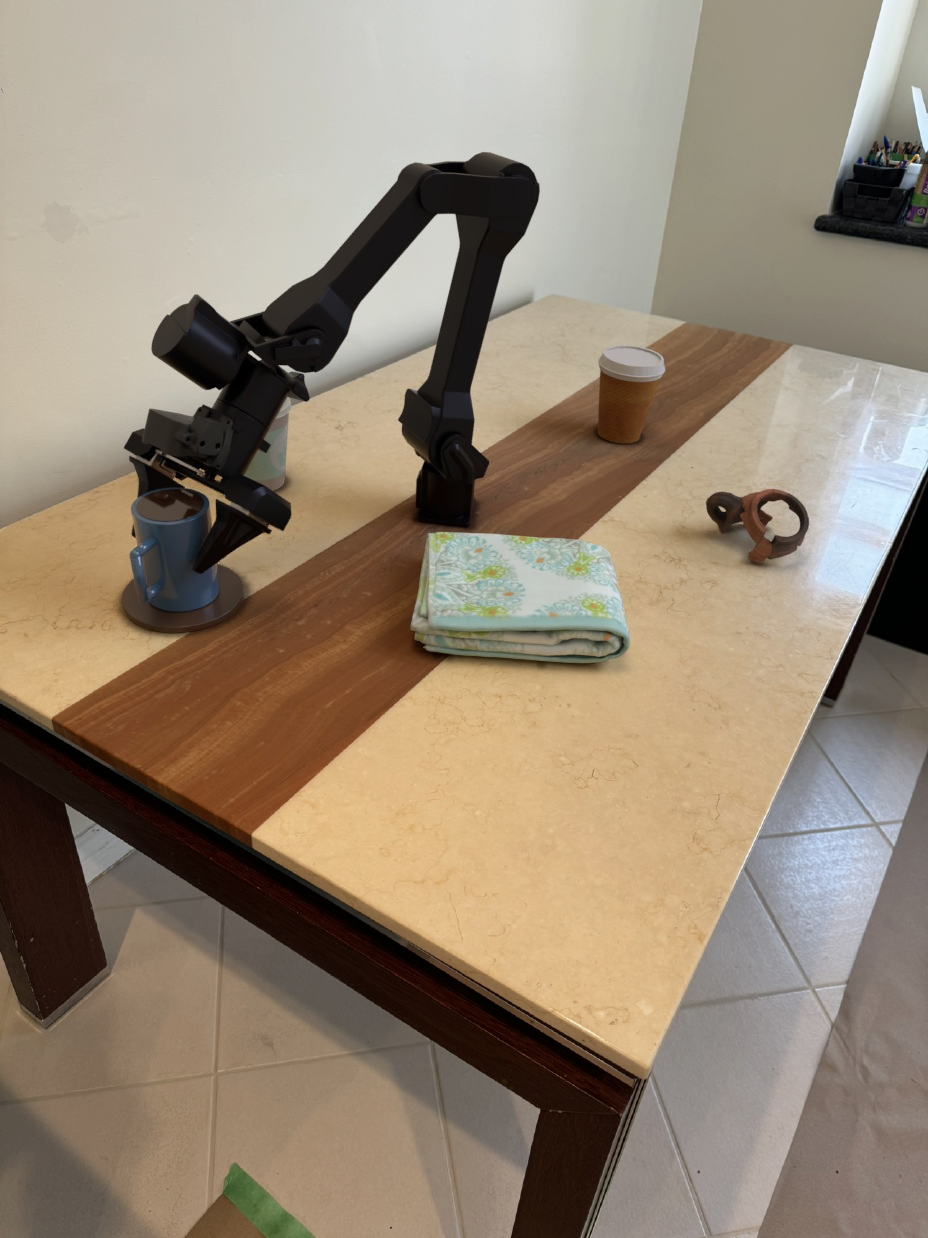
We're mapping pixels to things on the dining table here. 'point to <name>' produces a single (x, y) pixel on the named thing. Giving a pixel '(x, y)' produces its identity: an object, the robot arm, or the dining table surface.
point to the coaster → (187, 620)
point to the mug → (172, 549)
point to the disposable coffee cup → (626, 390)
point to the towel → (519, 599)
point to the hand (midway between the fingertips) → (165, 554)
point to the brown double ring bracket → (758, 520)
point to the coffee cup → (272, 453)
